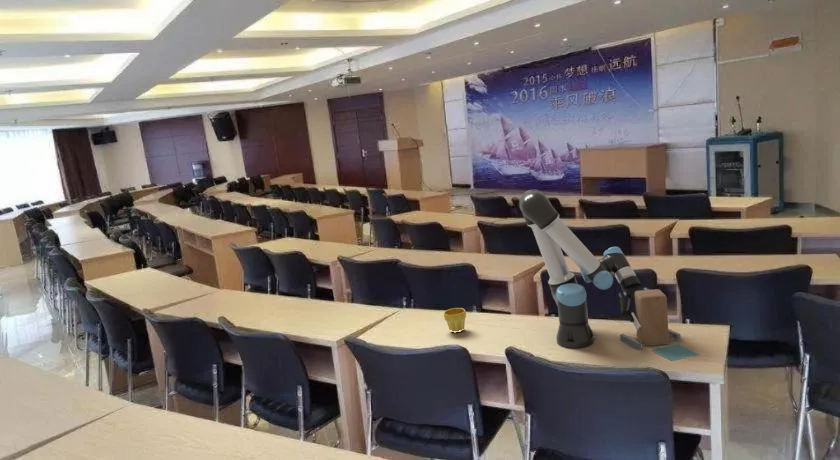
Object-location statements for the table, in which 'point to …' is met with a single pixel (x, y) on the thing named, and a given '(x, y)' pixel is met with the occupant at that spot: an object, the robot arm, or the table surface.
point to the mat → (675, 352)
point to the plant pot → (455, 318)
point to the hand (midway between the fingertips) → (653, 325)
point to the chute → (638, 345)
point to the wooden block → (652, 317)
